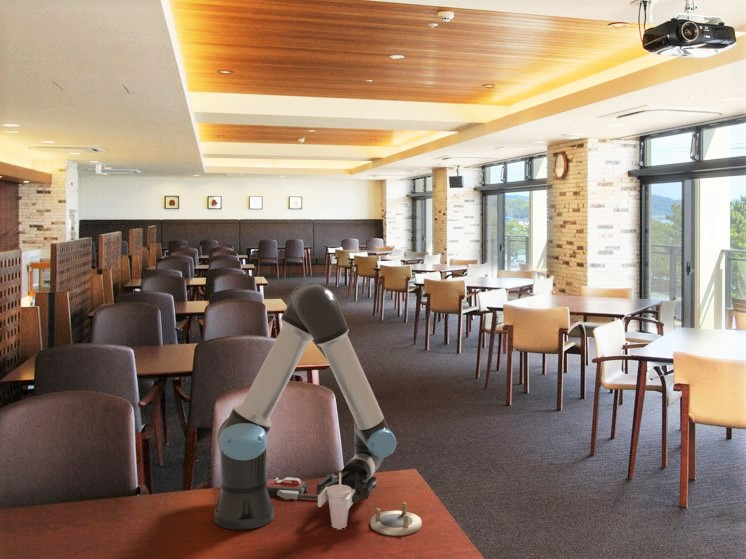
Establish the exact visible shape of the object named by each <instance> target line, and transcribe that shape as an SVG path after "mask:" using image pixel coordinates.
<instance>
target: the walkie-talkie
mask: <svg viewBox="0 0 746 559" xmlns="http://www.w3.org/2000/svg"><path fill="white" fill-rule="evenodd" d="M267 490H268V493H269V496H273V495H274V496H275V495H277V497H279V496H280V497H282V498H284V499H283V500H289V499H294V500H293V501H298V500H299V499H308V500H309V499H312V500H316V499H318V495H319V494H306V493H307V492H308V491H309V485H308V484H307V481H304V480H303V481H302V480H301V478H299V477H292V476H290V477H289V476H287V477H285V478H283V479H279V477H276V478H275V479H273V478H271V479H270V478H267ZM304 491H305V492H306V493H305V492H304ZM304 493H305V494H304ZM280 497H279V498H280ZM282 498H281V499H282Z"/></svg>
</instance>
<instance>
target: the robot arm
mask: <svg viewBox="0 0 746 559" xmlns="http://www.w3.org/2000/svg"><path fill="white" fill-rule="evenodd" d="M280 323H281V326H282V327H281V330H280V331H279V332H278V335H277V336H276V339H275V340H274V343H273V344H272V347H271V348H270V350H269V352H268V354H267V356H266V358H265V359H264V361H263V363H262V365H261V367H260V369H259V371H258V373H257V375H256V377H255V378H254V380H253V382H252V384H251V386H250V388H249V390H248V392H247V393H246V396H245V397H244V399H243V401H242V403H240V404H237V405H235V406H233V408H232V410H231V412H230V414H229V415H228V417H227V418H226V419H225V420H224V421H223V422H222V424H221V425H220V427H219V429H218V432H217V439H216V440H217V446H218V450H219V456H220V493H219V496H218V500H217V502H216V507H215V509H214V523H215V524H216V525H217V526H218V527H221V528H223V529H225V530H226V529H228V530H233V531H234V530H237V531H239V530H240V531H241V530H242V531H243V530H244V531H245V530H252V529H257V528H261V527H263V526H266V525H268V524H269V523H270V522H272V521H273V519H274V518H275V517H274V516H275V512H274V511H275V510H274V505H273V503H272V501H271V500H272V499H271V496H270V495H269V493H268V490H267V480H268V477H267V475H268V474H267V472H268V471H267V467H268V466H267V445H268V438H267V435H268V433H269V432H270V429H271V427H272V421H271V416H272V414H273V411H274V410H275V408H276V406H277V404H278V402H279V400H280V399H281V396H282V395H283V393H284V391H285V389H286V387H287V385H288V383H289V382H290V380H291V377H292V376H293V374H294V372H295V369H296V368H297V366H298V364H299V363H300V361H301V359H302V356H303V354H305V351H306V350H307V348H308V345H309V344H310V342H311V341H314V344H315V345H316V346H318V347H320V348H321V349H322V351H323V353H324V356H325V358H326V360H327V362H328V364H329V367H330V369H331V372H332V374H333V376H334V378H335V380H336V382H337V385H338V387H339V389H340V391H341V394H342V395H343V397H344V399H345V402H346V403H347V406H348V409H349V410H350V413H351V415H352V418H353V421H354V422H353V423H354V424H353V425H354V430H353V431H354V447H353V448H354V449H353V450H354V455H353V457H351V459H349V461H348V462H346V465H345V466H344V467H343V468H342V470H341V485H347V486H349V487H351V489H352V491H351V492H350V493H349V495H348V496H347V497H346V498H345V510H348V509H349V510H350V508H351V507H352V506H353V504H354V503H357V502H358V501H359V500H361V499H362V498H363V500H368V499H369V498H370V495H371V494H372V491H373V489H375V488H376V487H377V477H376V476H374V474H375V473H376V471H377V470H379V468H380V467H381V465H382V463H383V461H384V458H387V457H389V456H391V455H392V454H393V452H395V450H396V448H397V439H396V436H395V434H394V433H393V431H391V430H390V428H389V425H388V423H387V421H386V419H385V416H384V414H383V412H382V410H381V408H380V406H379V403H378V400H377V398H376V396H375V394H374V391H373V389H372V387H371V385H370V383H369V381H368V379H367V376H366V374H365V372H364V369H363V367H362V365H361V362H360V360H359V358H358V355H357V354H356V352H355V349H354V347H353V345H352V342H351V340H350V338H349V336H348V334H349V330H350V328H349V326H348V324H347V321H346V319H345V316H344V314H343V310H342V309H341V305H340V303H339V300H338V298H337V296H336V294H335V293H334V292H333V291H331V289H329V288H327V287H324V286H323V285H321V284H319V283H316V282H315V283H314V282H306V283H305V282H304V283H302V284H300V285H298V286H296V287H295V288H294V289H293V290H292V292H291V293H290V294H289V297H288V299H287V306H286V307H285V310H284V312H283V314H282V315H281V318H280ZM332 485H339V473H338V474H337V475H335V474H333V473H332V472H327V475H326V476H325V477H324V478H322V479H321V480H320V481H319V482H318V483H316V495H318V498H317V507H319V508H321V507H322V506H323V505H324V504H325V503H326V502H327V500H328V495H327V488H328V487H330V486H332ZM362 489H363V490H362ZM349 510H348V511H349Z"/></svg>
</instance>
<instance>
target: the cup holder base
mask: <svg viewBox="0 0 746 559" xmlns="http://www.w3.org/2000/svg"><path fill="white" fill-rule="evenodd" d="M407 506H408V504H407V502H401V510H386V511H382V512H381V508H377V507H376V508H375V514H374V515H372V517H371V518H370V524H369V525H370V528H371V529H372V530H373V531H375V532H376V533H380V534H381V535H386V536H394V537H395V536H398V537H399V536H407V535H411V534H414V533H416V532H418V531H420V530H421V528H422V527H423V526H422V524H423V523H422V522H423V521H422V518H421V517H420V516H418V514H416V513H413V512H408V511H407Z"/></svg>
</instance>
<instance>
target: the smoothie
mask: <svg viewBox="0 0 746 559" xmlns="http://www.w3.org/2000/svg"><path fill="white" fill-rule="evenodd" d="M341 472H342V471H341ZM341 472H340V471H339V472H338V474H339V485H332V486H330V487H328V488H327V495H328V499H327V500H328V504H329V505H328V506H329V513H330V522H331V528H332V527H333V528H332V529H334V528H337V529H336V530H343V529H342V528H344V529H346V528H347V526H348V518H349V510H350V508H349V509H348V510H345V498H346V497H347V496H348V495H349V493H350V492H351V491H352V489H351V487H349V486H347V485H341ZM345 527H346V528H345Z"/></svg>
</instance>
